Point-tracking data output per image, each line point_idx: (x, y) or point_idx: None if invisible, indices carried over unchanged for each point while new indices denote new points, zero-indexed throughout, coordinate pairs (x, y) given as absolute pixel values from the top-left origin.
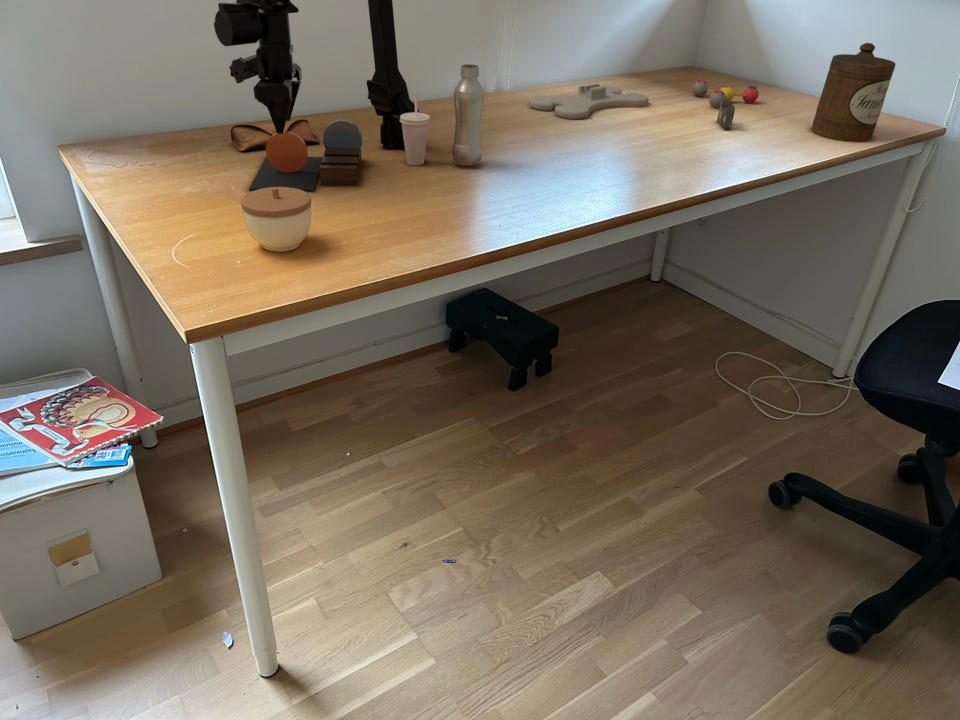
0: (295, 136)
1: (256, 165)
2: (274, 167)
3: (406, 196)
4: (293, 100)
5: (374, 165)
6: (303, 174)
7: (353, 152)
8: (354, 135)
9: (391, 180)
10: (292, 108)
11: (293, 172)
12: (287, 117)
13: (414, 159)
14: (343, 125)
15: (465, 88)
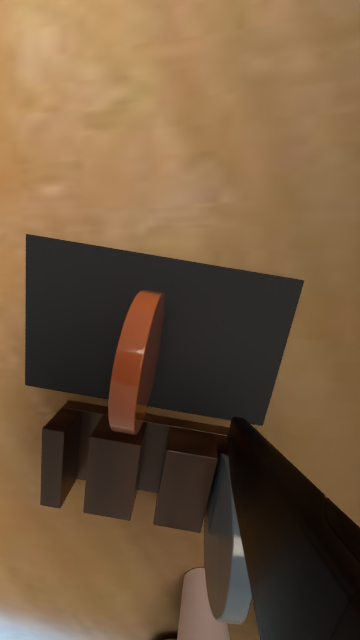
0: (109, 424)
1: (237, 251)
2: (194, 302)
3: (8, 533)
4: (261, 616)
5: None
6: None
7: (168, 516)
8: (209, 569)
9: (96, 525)
10: (239, 526)
11: None
12: (231, 444)
13: (182, 593)
14: (219, 590)
15: None
